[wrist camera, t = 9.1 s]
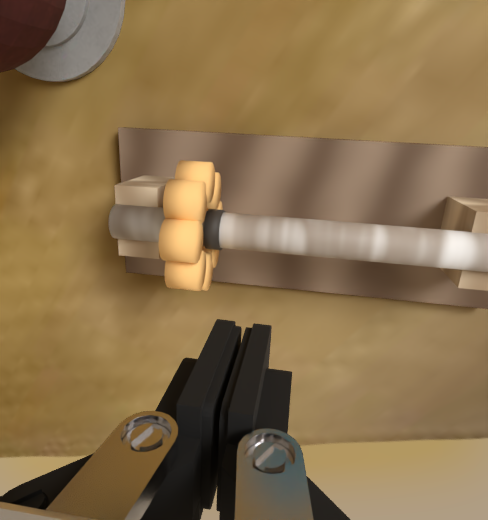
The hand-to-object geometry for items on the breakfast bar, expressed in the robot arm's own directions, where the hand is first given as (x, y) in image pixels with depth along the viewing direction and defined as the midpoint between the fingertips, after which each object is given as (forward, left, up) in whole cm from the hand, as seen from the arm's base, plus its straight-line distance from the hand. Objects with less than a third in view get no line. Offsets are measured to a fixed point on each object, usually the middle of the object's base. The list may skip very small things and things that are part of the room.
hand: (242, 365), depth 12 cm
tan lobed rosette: (+6, 0, -20) cm, 20 cm away
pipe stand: (-2, 0, -22) cm, 22 cm away
